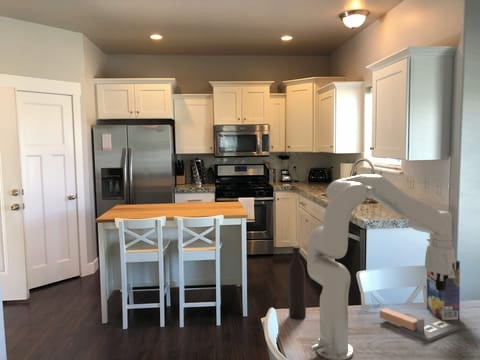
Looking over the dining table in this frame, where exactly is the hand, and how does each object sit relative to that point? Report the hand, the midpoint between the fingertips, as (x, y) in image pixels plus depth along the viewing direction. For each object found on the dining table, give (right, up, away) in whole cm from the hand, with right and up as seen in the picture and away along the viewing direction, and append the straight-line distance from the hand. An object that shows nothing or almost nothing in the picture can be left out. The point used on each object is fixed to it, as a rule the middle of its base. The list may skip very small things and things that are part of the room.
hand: (440, 289), depth 144 cm
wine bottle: (-53, -16, +15) cm, 58 cm away
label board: (-5, -15, 0) cm, 16 cm away
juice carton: (+8, -14, +14) cm, 21 cm away
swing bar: (-15, -14, +3) cm, 20 cm away
